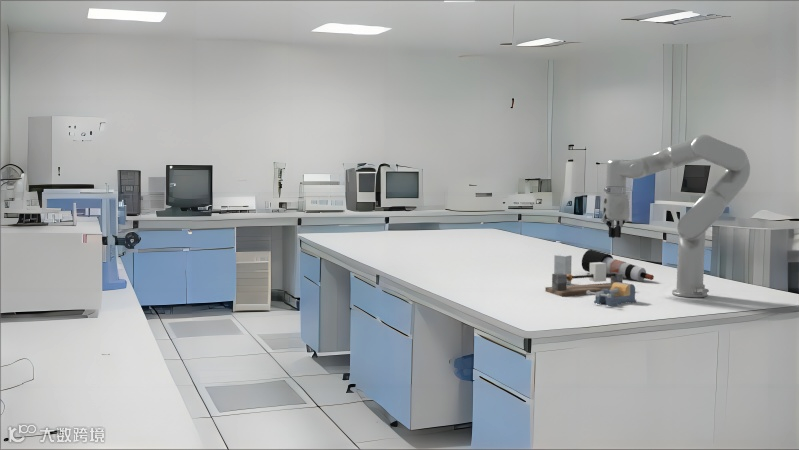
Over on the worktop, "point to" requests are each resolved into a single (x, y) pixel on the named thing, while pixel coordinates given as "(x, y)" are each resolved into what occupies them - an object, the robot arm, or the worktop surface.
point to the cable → (614, 266)
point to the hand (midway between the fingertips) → (614, 236)
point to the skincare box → (562, 264)
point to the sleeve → (597, 271)
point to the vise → (615, 294)
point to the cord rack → (562, 289)
